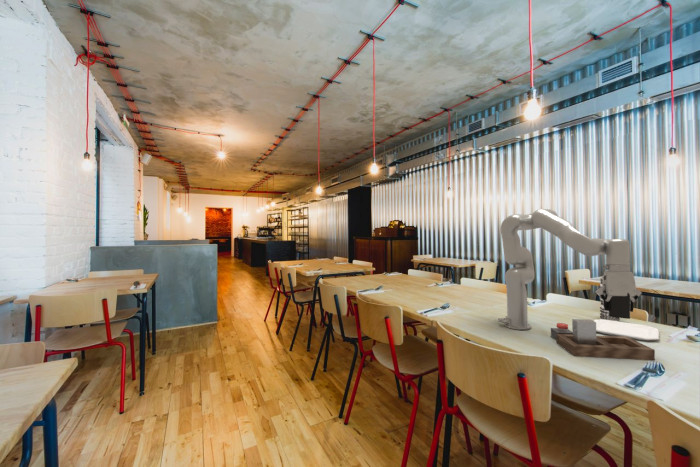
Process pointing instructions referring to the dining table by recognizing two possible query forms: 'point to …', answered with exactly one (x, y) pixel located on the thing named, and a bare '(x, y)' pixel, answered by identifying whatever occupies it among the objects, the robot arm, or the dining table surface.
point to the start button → (562, 326)
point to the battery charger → (620, 306)
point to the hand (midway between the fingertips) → (618, 310)
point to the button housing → (559, 332)
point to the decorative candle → (604, 312)
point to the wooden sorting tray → (601, 343)
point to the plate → (627, 330)
